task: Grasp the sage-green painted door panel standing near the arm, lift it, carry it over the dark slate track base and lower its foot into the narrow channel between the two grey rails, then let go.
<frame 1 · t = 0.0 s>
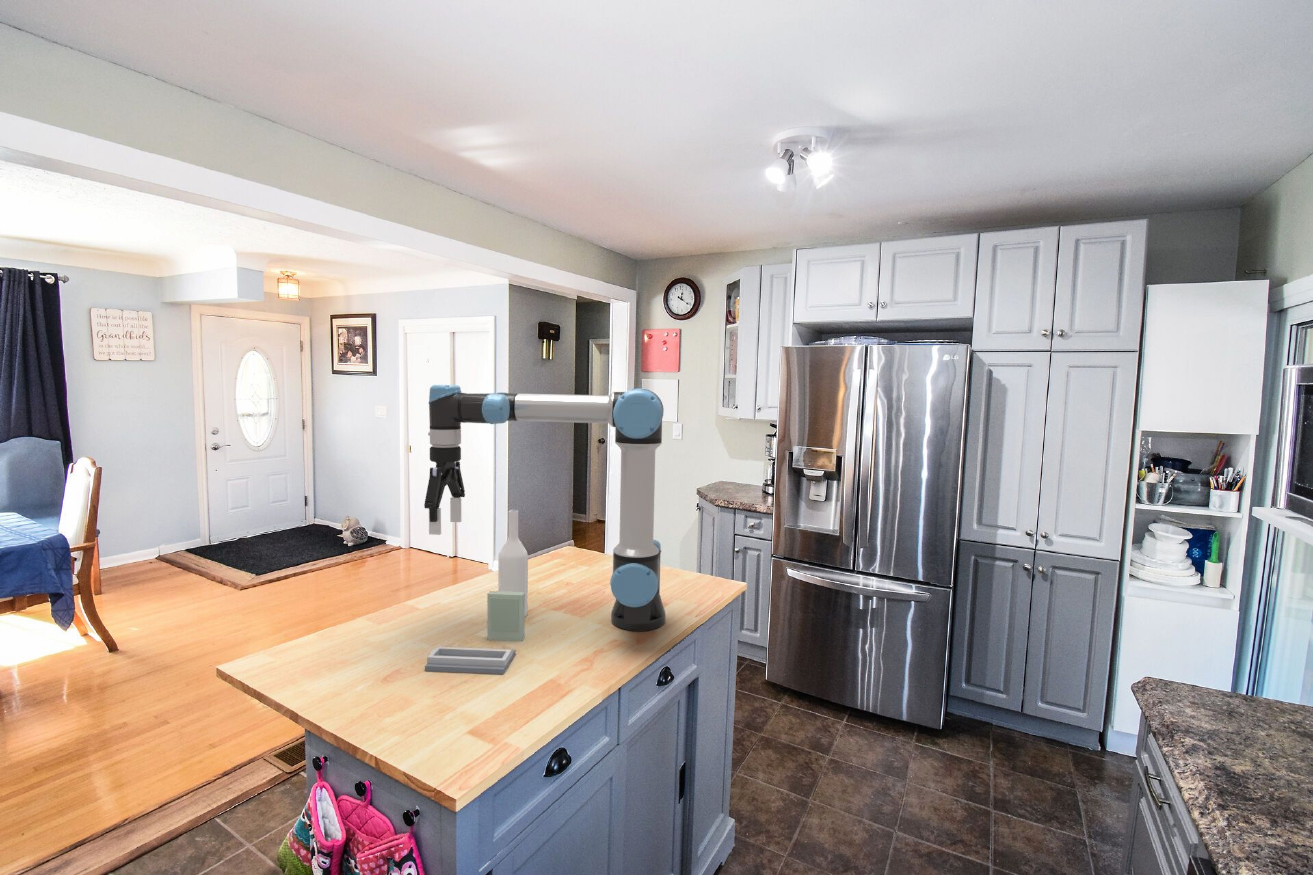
hand: (446, 527, 154), 28 cm above the counter, fingers open, 13 cm apart
track base: (471, 662, 140), on the counter
door panel: (506, 638, 154), on the counter
bottle: (513, 615, 170), on the counter
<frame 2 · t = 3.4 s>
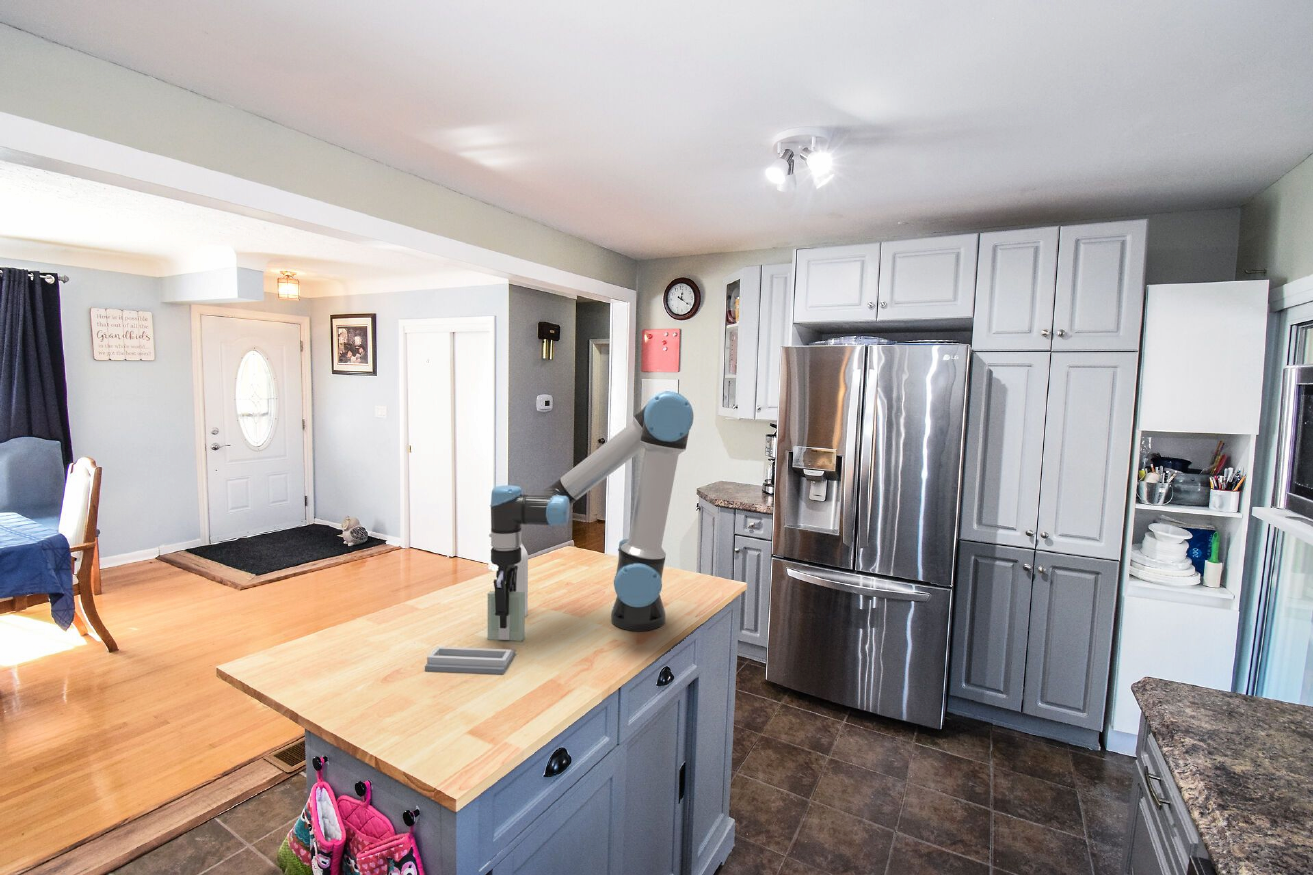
hand: (506, 636, 154), 1 cm above the counter, fingers closed on door panel, 2 cm apart
door panel: (506, 638, 154), on the counter, touching gripper
everything else where it was.
when the fingers open (4 cm above the counter, at t = 7.1 s): door panel drops 2 cm, resting on track base.
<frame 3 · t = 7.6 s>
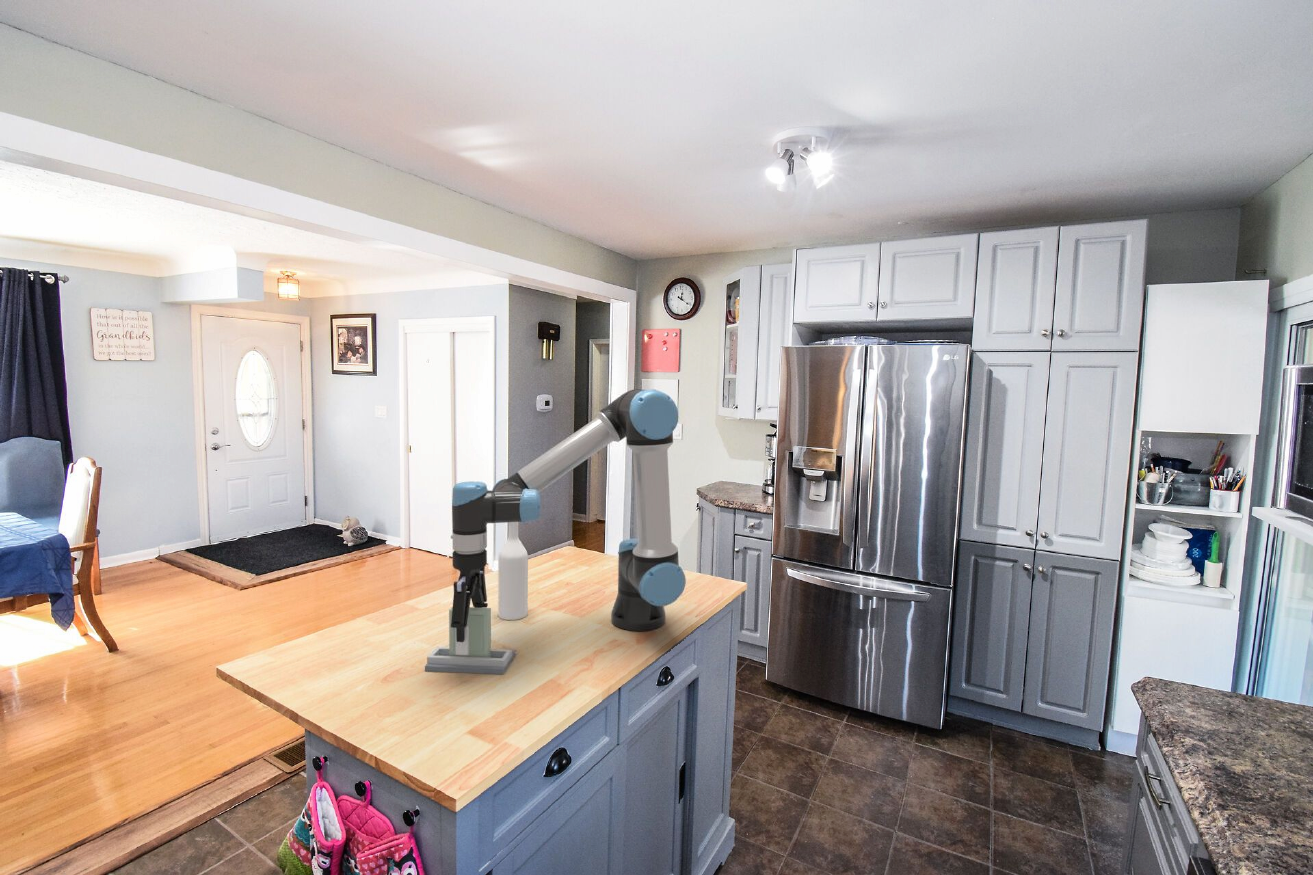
hand: (470, 644, 139), 5 cm above the counter, fingers open, 9 cm apart
door panel: (470, 659, 139), point 1 cm above the counter, touching track base
everything else where it was.
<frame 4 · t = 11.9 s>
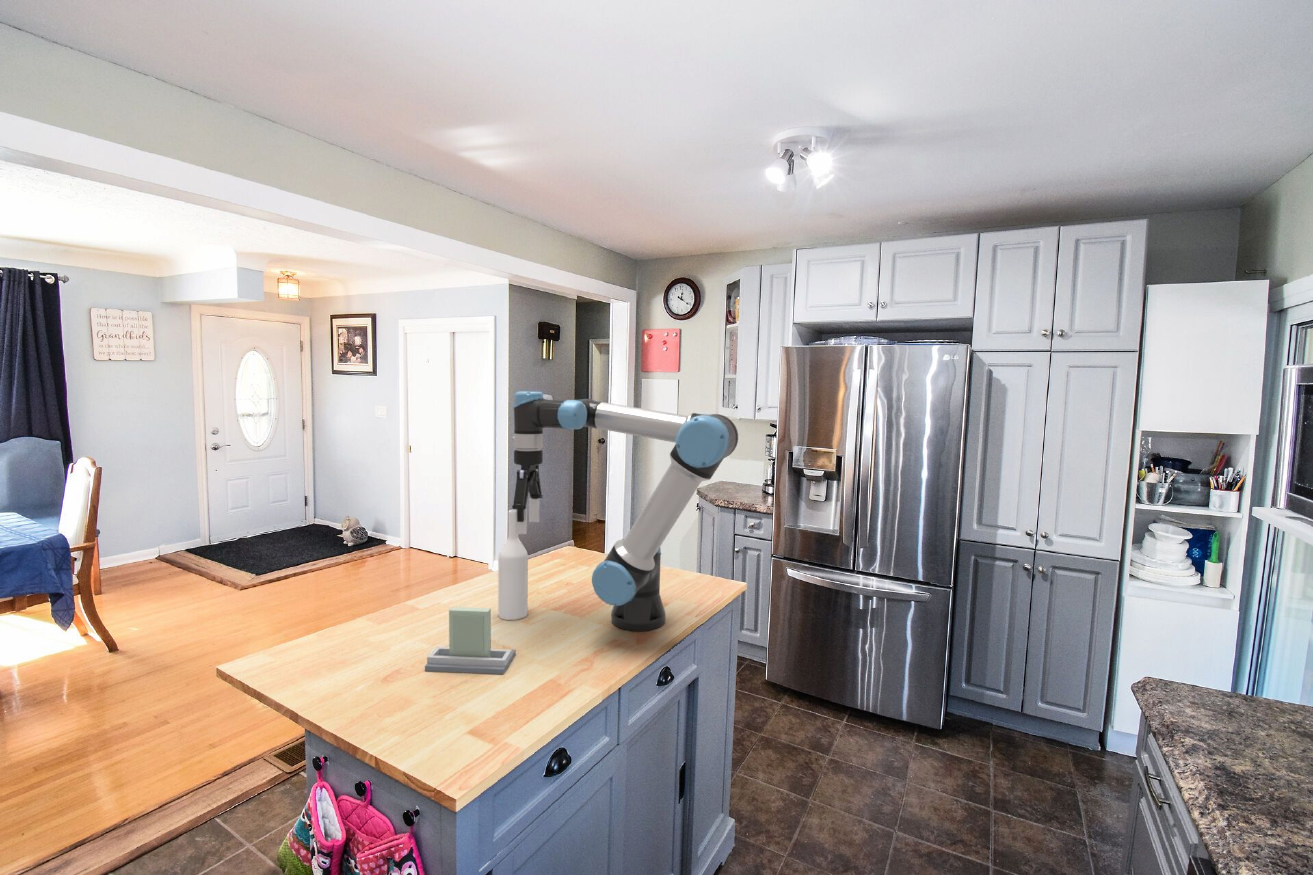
hand: (528, 527, 162), 27 cm above the counter, fingers open, 13 cm apart
nothing on the counter moved.
at the end: door panel inside the target area on the track base (0.2 cm from its centre), point 1.2 cm above the track base's base; door panel tilted 0°; the gripper is holding nothing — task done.
